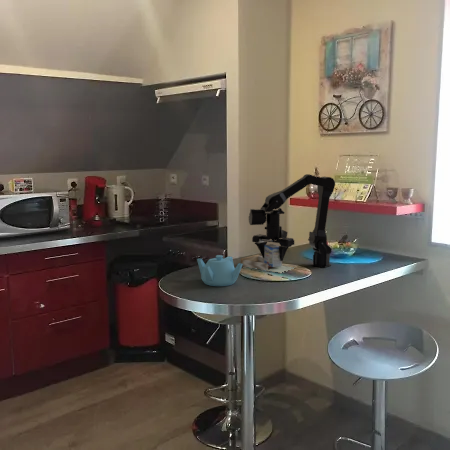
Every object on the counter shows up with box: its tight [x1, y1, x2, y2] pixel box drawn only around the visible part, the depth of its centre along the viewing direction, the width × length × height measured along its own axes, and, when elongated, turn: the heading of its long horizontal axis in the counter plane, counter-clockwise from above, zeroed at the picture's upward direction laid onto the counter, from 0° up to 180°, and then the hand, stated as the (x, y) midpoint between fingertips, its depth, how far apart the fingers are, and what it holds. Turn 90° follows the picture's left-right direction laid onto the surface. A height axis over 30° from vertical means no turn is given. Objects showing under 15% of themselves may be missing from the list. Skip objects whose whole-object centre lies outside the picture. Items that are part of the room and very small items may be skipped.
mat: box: [266, 264, 296, 274], centre depth 222 cm, size 7×12×1 cm, turn 140°
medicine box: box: [264, 243, 281, 268], centre depth 224 cm, size 8×4×9 cm, turn 25°
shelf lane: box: [240, 254, 283, 272], centre depth 228 cm, size 14×12×4 cm
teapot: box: [196, 254, 243, 287], centre depth 200 cm, size 15×15×11 cm
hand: (272, 259), depth 225 cm, fingers closed on medicine box, 9 cm apart
